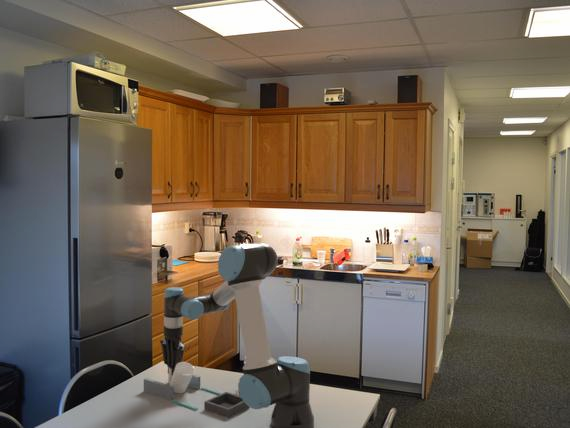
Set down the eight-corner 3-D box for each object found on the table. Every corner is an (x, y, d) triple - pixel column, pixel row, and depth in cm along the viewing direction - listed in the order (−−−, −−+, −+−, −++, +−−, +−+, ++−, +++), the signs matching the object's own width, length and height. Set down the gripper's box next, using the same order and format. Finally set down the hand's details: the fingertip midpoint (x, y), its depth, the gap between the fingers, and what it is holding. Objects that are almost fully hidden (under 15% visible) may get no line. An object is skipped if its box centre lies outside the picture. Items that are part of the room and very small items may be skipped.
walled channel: (200, 388, 217) (200, 376, 217) (170, 400, 204) (170, 388, 204) (173, 379, 226) (173, 368, 226) (143, 391, 213) (143, 378, 213)
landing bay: (226, 396, 209) (226, 394, 209) (195, 410, 196) (195, 408, 196) (203, 388, 217) (203, 387, 217) (171, 401, 203) (171, 400, 203)
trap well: (249, 406, 199) (249, 399, 199) (228, 417, 189) (228, 409, 189) (226, 399, 206) (226, 391, 206) (204, 409, 196) (204, 401, 196)
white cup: (167, 380, 215) (174, 360, 212) (185, 381, 218) (193, 362, 215) (169, 394, 208) (177, 374, 205) (188, 395, 212) (196, 376, 209)
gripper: (191, 327, 213) (189, 383, 215) (169, 320, 221) (168, 375, 222) (177, 331, 207) (175, 389, 209) (155, 324, 214) (154, 380, 216)
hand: (171, 382), depth 216 cm, fingers closed
